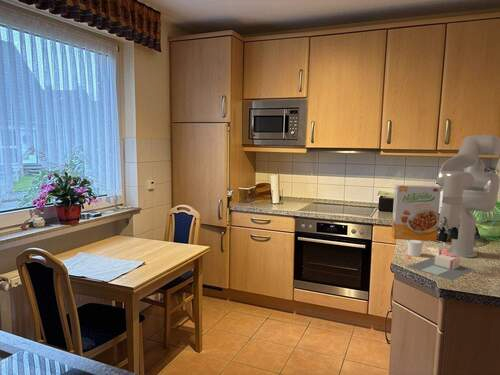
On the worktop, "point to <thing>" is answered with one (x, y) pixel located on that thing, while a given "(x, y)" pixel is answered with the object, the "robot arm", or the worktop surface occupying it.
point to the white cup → (414, 247)
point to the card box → (447, 261)
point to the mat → (440, 269)
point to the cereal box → (415, 212)
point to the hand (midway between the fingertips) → (448, 240)
